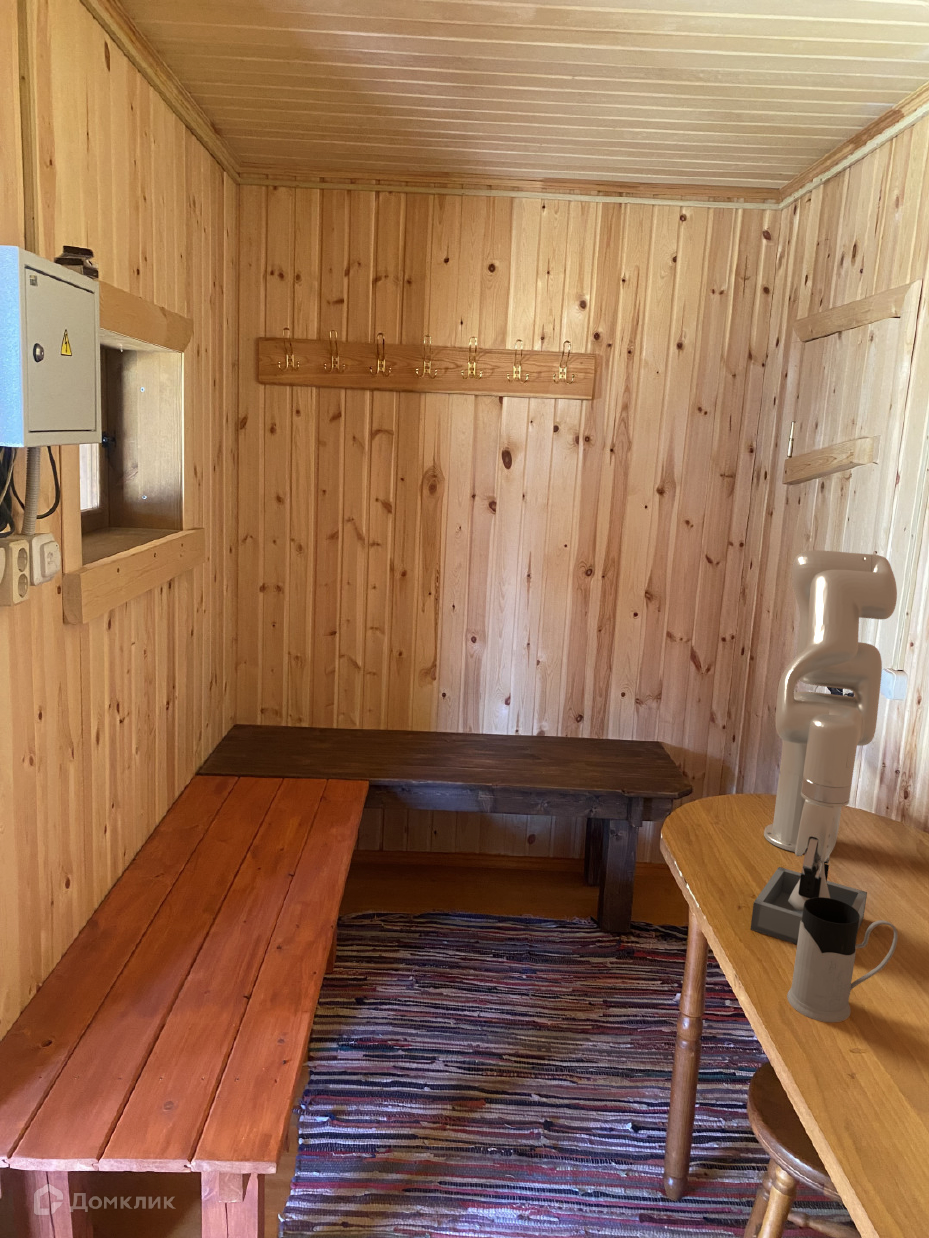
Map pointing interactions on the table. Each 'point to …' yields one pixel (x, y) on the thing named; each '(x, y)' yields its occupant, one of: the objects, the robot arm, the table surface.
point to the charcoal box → (781, 916)
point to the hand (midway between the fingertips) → (812, 889)
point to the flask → (799, 900)
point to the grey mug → (828, 959)
